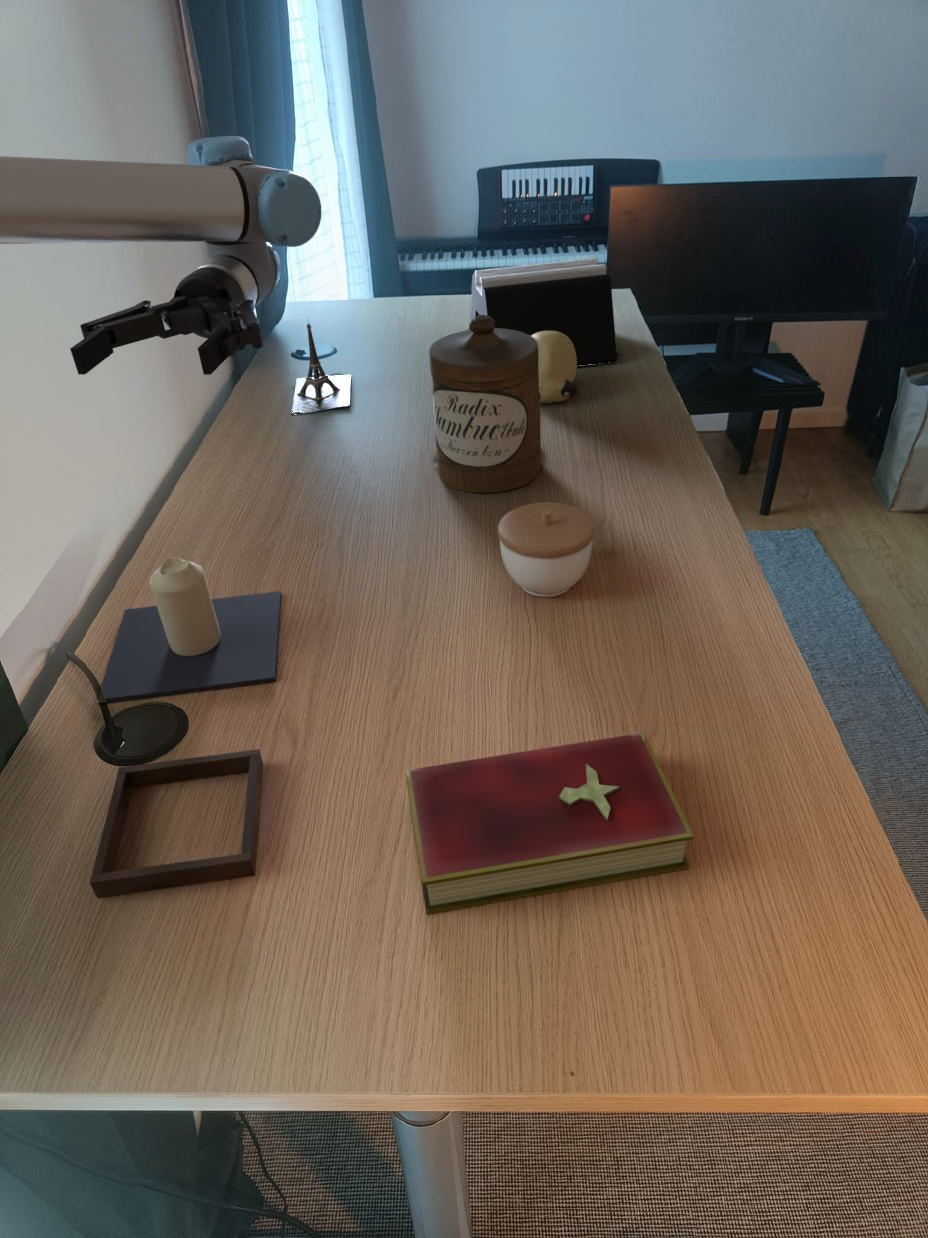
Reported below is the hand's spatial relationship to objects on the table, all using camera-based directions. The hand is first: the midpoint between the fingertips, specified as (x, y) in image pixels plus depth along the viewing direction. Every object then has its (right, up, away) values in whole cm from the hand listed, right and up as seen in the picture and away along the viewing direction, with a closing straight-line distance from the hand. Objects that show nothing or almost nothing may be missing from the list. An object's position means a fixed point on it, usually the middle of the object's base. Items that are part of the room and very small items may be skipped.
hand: (140, 361), depth 88 cm
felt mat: (+3, -29, +8) cm, 30 cm away
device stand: (+47, +24, +76) cm, 93 cm away
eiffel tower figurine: (+8, +13, +64) cm, 66 cm away
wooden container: (+36, -5, +38) cm, 53 cm away
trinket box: (+42, -22, +14) cm, 50 cm away
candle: (+3, -29, +8) cm, 30 cm away
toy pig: (+47, +12, +59) cm, 76 cm away
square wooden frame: (+9, -44, -13) cm, 47 cm away
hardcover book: (+39, -44, -15) cm, 61 cm away
